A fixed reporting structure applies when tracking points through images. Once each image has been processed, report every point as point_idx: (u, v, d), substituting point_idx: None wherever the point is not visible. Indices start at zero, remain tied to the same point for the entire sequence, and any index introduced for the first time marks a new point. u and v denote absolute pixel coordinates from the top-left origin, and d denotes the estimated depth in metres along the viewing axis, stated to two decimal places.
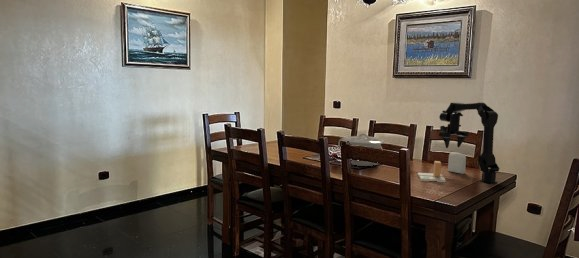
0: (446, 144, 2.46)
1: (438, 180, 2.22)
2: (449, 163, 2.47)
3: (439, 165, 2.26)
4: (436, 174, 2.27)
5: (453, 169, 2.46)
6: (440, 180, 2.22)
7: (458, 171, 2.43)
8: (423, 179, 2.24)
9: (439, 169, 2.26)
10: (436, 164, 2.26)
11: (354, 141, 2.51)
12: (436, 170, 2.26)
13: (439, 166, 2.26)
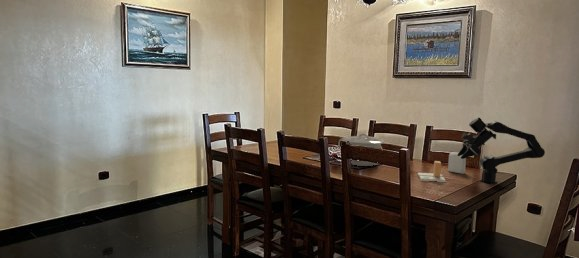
0: (465, 156, 2.20)
1: (438, 180, 2.22)
2: (449, 163, 2.47)
3: (439, 165, 2.26)
4: (436, 174, 2.27)
5: (453, 169, 2.46)
6: (440, 180, 2.22)
7: (458, 171, 2.43)
8: (423, 179, 2.24)
9: (439, 169, 2.26)
10: (436, 164, 2.26)
11: (354, 141, 2.51)
12: (436, 170, 2.26)
13: (439, 166, 2.26)
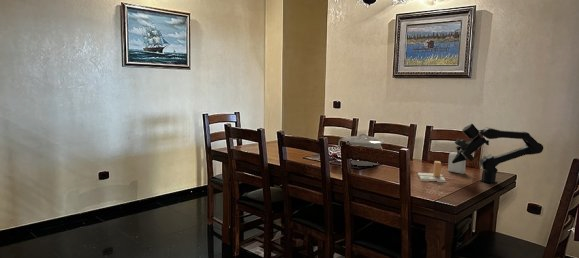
0: (456, 160, 2.25)
1: (438, 180, 2.22)
2: (449, 163, 2.47)
3: (439, 165, 2.26)
4: (436, 174, 2.27)
5: (453, 169, 2.46)
6: (440, 180, 2.22)
7: (458, 171, 2.43)
8: (423, 179, 2.24)
9: (439, 169, 2.26)
10: (436, 164, 2.26)
11: (354, 141, 2.51)
12: (436, 170, 2.26)
13: (439, 166, 2.26)
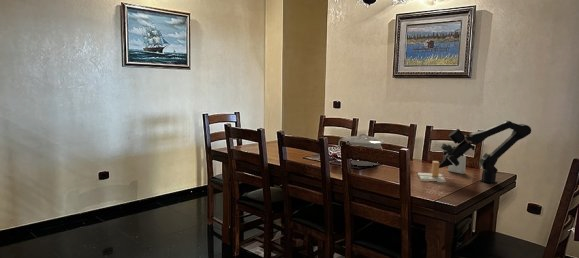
0: (442, 165, 2.27)
1: (438, 180, 2.22)
2: None
3: (437, 165, 2.26)
4: (434, 174, 2.27)
5: (453, 169, 2.46)
6: (440, 180, 2.22)
7: (458, 171, 2.43)
8: (423, 179, 2.24)
9: (437, 169, 2.26)
10: (434, 164, 2.26)
11: (354, 141, 2.51)
12: (434, 170, 2.27)
13: (437, 166, 2.26)
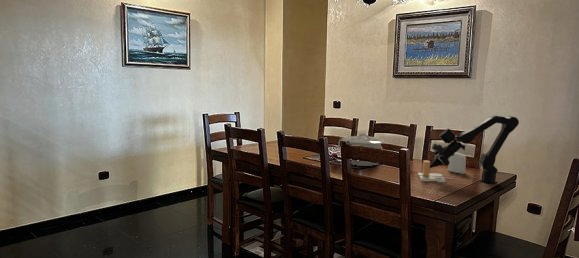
0: (433, 165, 2.27)
1: (438, 180, 2.22)
2: (449, 163, 2.47)
3: (428, 165, 2.27)
4: (425, 173, 2.28)
5: (453, 169, 2.46)
6: (440, 180, 2.22)
7: (458, 171, 2.43)
8: (423, 179, 2.24)
9: (428, 168, 2.27)
10: (425, 163, 2.27)
11: (354, 141, 2.51)
12: (425, 169, 2.27)
13: (428, 165, 2.27)
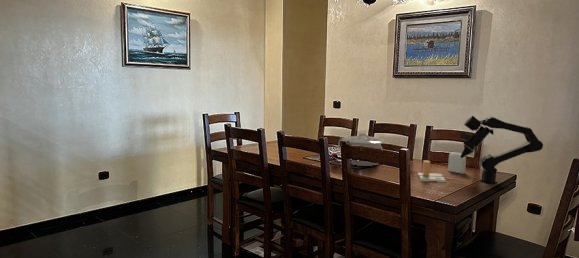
0: (463, 154, 2.25)
1: (438, 180, 2.22)
2: (449, 163, 2.47)
3: (428, 165, 2.27)
4: (425, 173, 2.28)
5: (453, 169, 2.46)
6: (440, 180, 2.22)
7: (458, 171, 2.43)
8: (423, 179, 2.24)
9: (428, 168, 2.27)
10: (425, 163, 2.27)
11: (354, 141, 2.51)
12: (425, 169, 2.27)
13: (428, 165, 2.27)
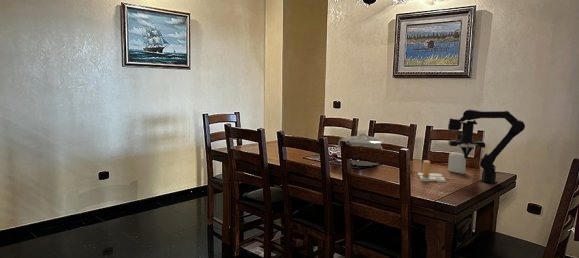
0: None
1: (438, 180, 2.22)
2: (449, 163, 2.47)
3: (428, 165, 2.27)
4: (425, 173, 2.28)
5: (453, 169, 2.46)
6: (440, 180, 2.22)
7: (458, 171, 2.43)
8: (423, 179, 2.24)
9: (428, 168, 2.27)
10: (425, 163, 2.27)
11: (354, 141, 2.51)
12: (425, 169, 2.27)
13: (428, 165, 2.27)
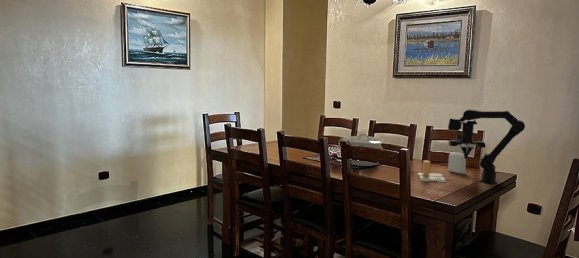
0: None
1: (438, 180, 2.22)
2: (449, 163, 2.47)
3: (428, 165, 2.27)
4: (425, 173, 2.28)
5: (453, 169, 2.46)
6: (440, 180, 2.22)
7: (458, 171, 2.43)
8: (423, 179, 2.24)
9: (428, 168, 2.27)
10: (425, 163, 2.27)
11: (354, 141, 2.51)
12: (425, 169, 2.27)
13: (428, 165, 2.27)
